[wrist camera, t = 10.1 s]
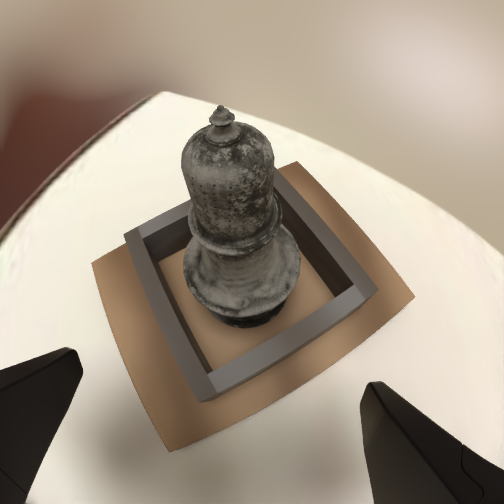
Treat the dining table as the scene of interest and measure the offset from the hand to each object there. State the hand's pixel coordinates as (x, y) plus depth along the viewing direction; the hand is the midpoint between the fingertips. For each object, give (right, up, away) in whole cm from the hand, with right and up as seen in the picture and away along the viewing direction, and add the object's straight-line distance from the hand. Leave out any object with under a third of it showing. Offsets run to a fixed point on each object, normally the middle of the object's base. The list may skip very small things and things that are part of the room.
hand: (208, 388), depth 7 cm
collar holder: (+1, +1, +11) cm, 11 cm away
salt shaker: (+1, +2, +10) cm, 10 cm away
